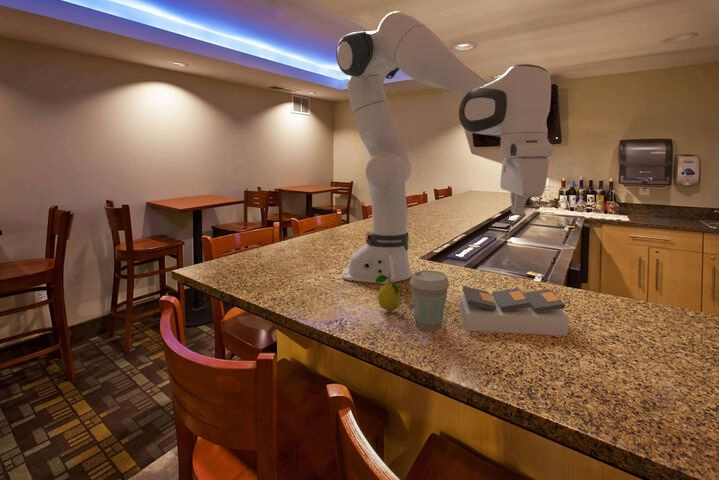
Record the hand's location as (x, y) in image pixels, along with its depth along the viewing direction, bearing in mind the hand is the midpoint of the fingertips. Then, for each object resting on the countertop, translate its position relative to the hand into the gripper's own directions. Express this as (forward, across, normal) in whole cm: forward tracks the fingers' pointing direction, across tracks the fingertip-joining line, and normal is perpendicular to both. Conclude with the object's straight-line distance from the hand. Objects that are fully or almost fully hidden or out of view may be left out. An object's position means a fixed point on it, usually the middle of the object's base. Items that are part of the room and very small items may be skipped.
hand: (517, 214), depth 80 cm
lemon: (+25, -2, -28) cm, 38 cm away
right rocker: (+20, 0, +7) cm, 21 cm away
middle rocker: (+20, 0, 0) cm, 20 cm away
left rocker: (+20, 0, -7) cm, 21 cm away
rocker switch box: (+25, 0, 0) cm, 25 cm away
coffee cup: (+25, +4, -18) cm, 32 cm away
